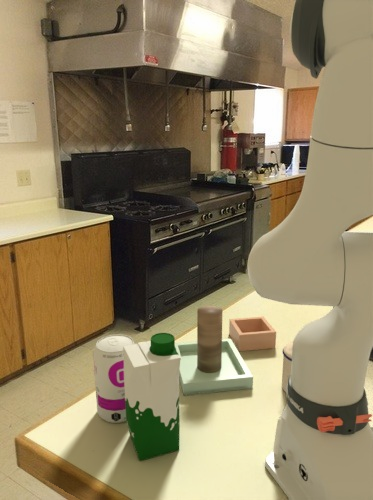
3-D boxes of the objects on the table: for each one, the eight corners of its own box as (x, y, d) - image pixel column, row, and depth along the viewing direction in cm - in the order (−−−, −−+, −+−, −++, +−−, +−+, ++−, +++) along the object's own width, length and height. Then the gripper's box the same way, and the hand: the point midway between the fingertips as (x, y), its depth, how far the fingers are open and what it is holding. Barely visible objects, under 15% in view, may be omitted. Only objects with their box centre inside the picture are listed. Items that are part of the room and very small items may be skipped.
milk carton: (186, 452, 73) (185, 347, 68) (134, 467, 70) (129, 357, 65) (169, 421, 81) (167, 325, 76) (122, 433, 78) (117, 333, 73)
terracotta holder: (275, 348, 109) (276, 331, 107) (239, 351, 107) (239, 335, 106) (262, 331, 118) (263, 316, 117) (229, 334, 116) (229, 319, 115)
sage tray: (252, 388, 91) (253, 376, 91) (183, 395, 89) (183, 383, 88) (230, 348, 108) (230, 338, 108) (172, 353, 106) (172, 343, 105)
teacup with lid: (314, 407, 85) (318, 354, 82) (273, 391, 90) (275, 341, 87) (335, 380, 94) (340, 332, 91) (296, 367, 99) (300, 321, 96)
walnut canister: (224, 371, 96) (225, 314, 93) (199, 374, 95) (200, 316, 92) (218, 359, 102) (219, 304, 98) (195, 361, 101) (195, 306, 97)
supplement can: (146, 416, 83) (143, 346, 79) (105, 430, 79) (100, 357, 75) (130, 394, 89) (127, 329, 86) (92, 407, 86) (87, 339, 82)
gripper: (317, 172, 107) (278, 212, 108) (362, 180, 87) (314, 229, 88) (332, 189, 109) (294, 228, 110) (380, 201, 89) (333, 248, 90)
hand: (303, 229), depth 99 cm, fingers open, 8 cm apart
